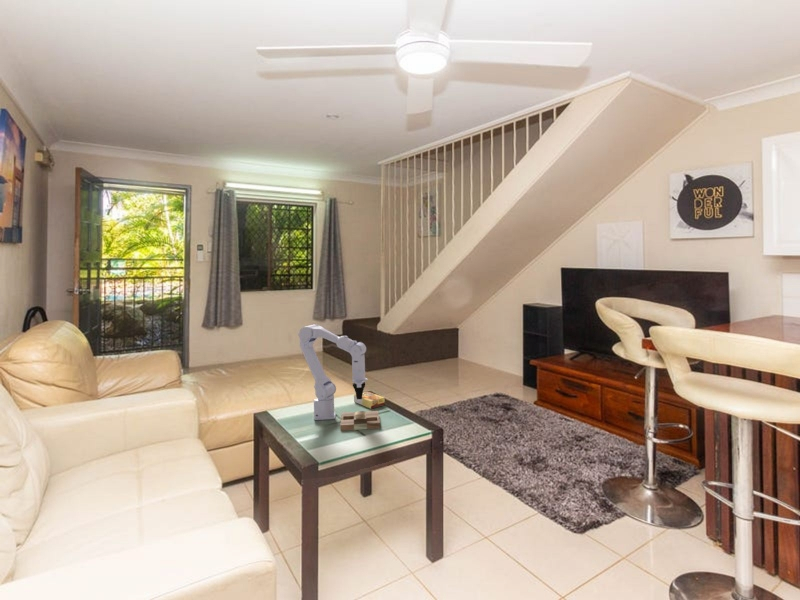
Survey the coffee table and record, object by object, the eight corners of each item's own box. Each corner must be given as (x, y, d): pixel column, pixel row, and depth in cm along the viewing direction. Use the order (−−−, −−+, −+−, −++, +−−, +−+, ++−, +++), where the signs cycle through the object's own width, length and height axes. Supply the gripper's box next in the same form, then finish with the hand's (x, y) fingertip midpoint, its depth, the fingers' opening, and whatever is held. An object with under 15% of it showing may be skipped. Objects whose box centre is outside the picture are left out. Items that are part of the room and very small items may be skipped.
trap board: (341, 417, 198) (341, 408, 198) (378, 415, 200) (377, 406, 200) (340, 430, 183) (340, 420, 182) (380, 428, 184) (379, 418, 184)
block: (355, 423, 184) (355, 414, 183) (355, 420, 188) (355, 411, 187) (365, 423, 184) (364, 414, 184) (364, 419, 188) (364, 411, 188)
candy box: (385, 405, 215) (367, 398, 227) (384, 397, 215) (367, 390, 227) (370, 409, 210) (353, 402, 222) (370, 400, 210) (353, 394, 222)
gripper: (367, 372, 187) (368, 403, 188) (366, 365, 201) (367, 393, 202) (351, 373, 186) (352, 404, 187) (351, 366, 200) (352, 394, 201)
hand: (359, 398), depth 194 cm, fingers closed
